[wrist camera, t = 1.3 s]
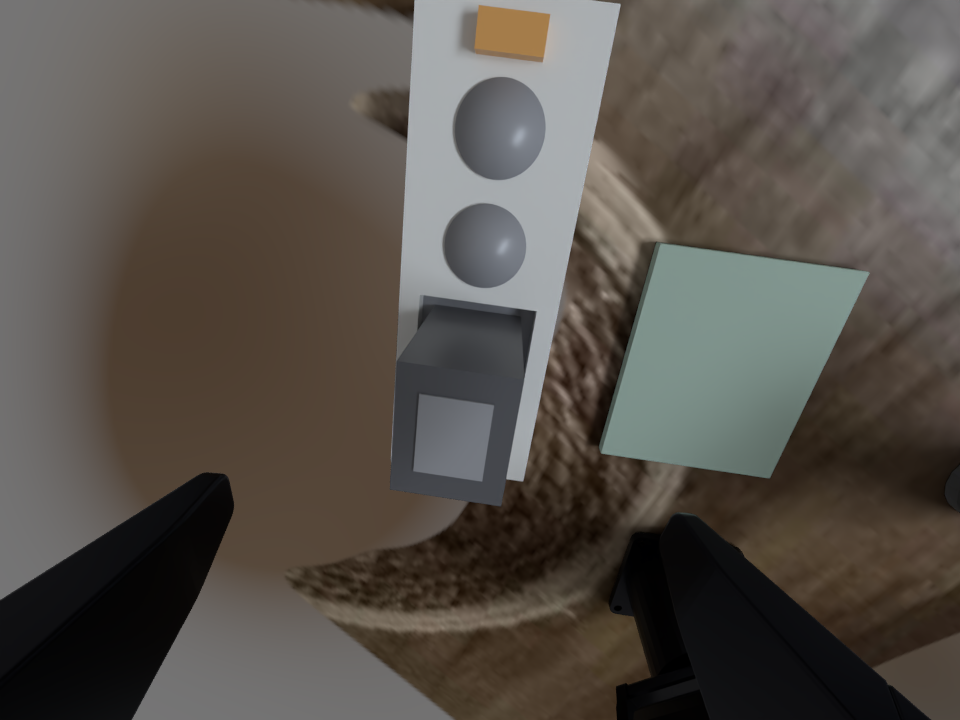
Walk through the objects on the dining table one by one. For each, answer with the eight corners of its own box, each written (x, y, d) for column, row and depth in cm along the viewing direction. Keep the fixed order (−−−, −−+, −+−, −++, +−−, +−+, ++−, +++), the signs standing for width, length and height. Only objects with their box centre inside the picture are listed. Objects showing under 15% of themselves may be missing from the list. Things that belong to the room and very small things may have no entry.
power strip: (522, 458, 23) (523, 489, 21) (400, 440, 24) (387, 468, 21) (608, 26, 16) (624, -4, 13) (427, 3, 16) (411, -31, 14)
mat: (763, 471, 23) (769, 478, 22) (598, 446, 23) (601, 453, 22) (859, 269, 18) (869, 272, 18) (656, 242, 19) (660, 243, 18)
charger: (504, 410, 21) (500, 507, 15) (427, 398, 21) (389, 490, 15) (520, 316, 19) (524, 380, 13) (435, 304, 19) (395, 361, 13)
